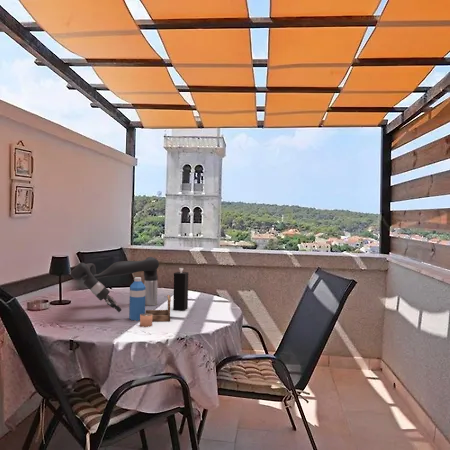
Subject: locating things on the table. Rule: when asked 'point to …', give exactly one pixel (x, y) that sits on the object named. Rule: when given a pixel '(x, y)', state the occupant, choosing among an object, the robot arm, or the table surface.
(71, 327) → the table surface
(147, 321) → the clay pot
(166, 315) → the brown wooden frame
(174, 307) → the black square pillar
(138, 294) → the water bottle
